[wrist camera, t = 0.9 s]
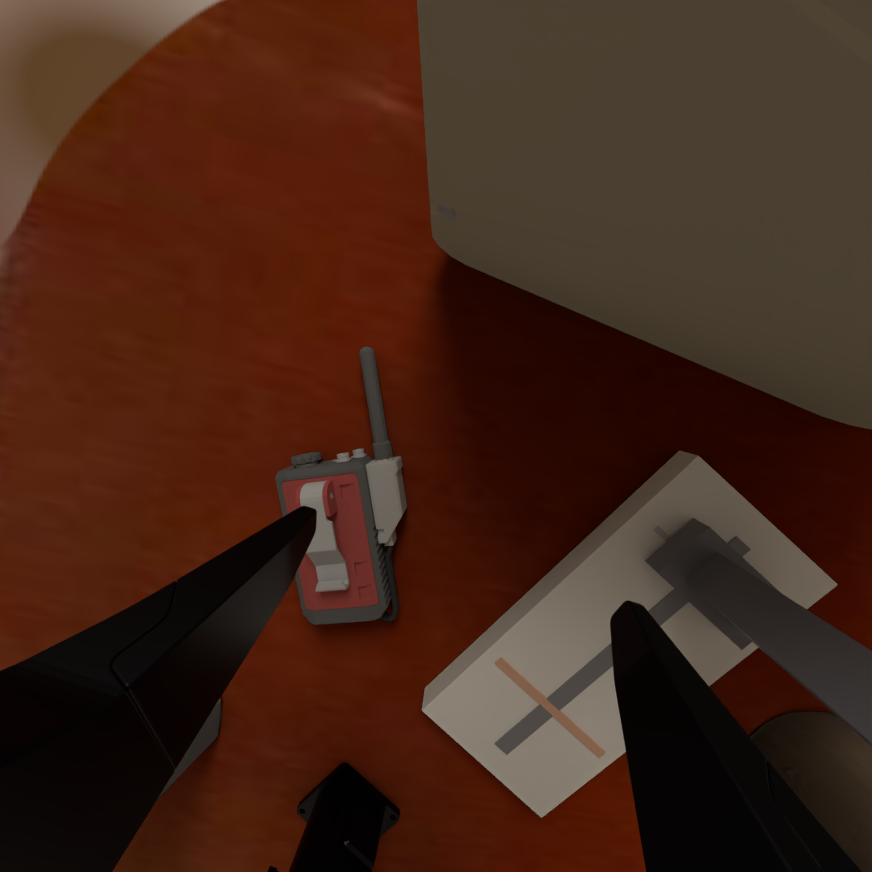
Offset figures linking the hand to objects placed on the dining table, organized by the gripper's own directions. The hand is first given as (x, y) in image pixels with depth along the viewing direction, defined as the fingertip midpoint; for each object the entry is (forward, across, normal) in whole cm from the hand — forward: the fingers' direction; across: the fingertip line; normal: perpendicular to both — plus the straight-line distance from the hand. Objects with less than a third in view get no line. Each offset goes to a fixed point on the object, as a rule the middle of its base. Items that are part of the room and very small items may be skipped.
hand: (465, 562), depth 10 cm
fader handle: (+10, -17, +7) cm, 21 cm away
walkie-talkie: (+13, +7, +11) cm, 18 cm away
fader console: (+10, -14, +15) cm, 22 cm away
